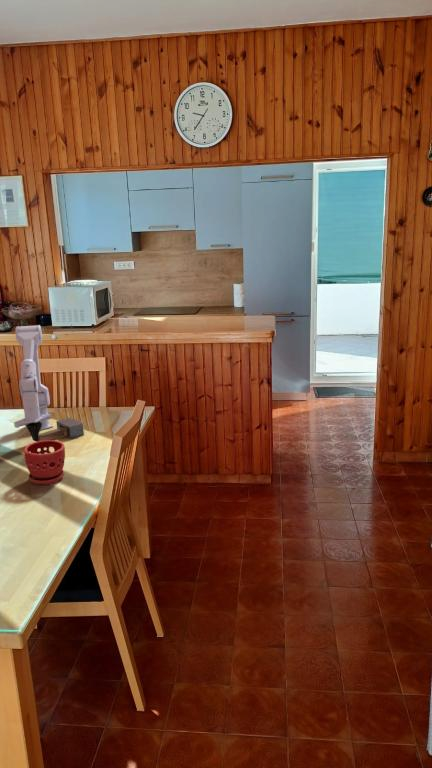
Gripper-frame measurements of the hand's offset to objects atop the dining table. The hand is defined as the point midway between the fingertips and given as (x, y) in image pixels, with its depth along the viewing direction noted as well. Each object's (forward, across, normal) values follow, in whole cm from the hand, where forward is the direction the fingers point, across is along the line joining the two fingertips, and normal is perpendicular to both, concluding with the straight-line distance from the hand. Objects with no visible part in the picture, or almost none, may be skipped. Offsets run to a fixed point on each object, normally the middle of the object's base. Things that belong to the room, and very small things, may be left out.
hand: (35, 440), depth 234 cm
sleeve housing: (+1, +15, 0) cm, 15 cm away
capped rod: (+1, +8, 0) cm, 8 cm away
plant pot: (+2, -12, -35) cm, 37 cm away
